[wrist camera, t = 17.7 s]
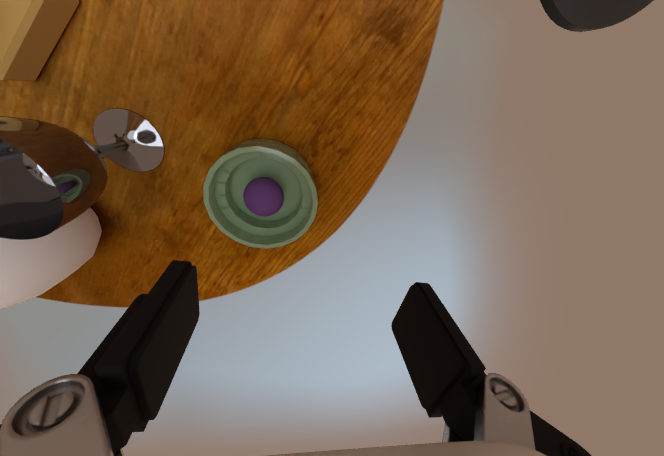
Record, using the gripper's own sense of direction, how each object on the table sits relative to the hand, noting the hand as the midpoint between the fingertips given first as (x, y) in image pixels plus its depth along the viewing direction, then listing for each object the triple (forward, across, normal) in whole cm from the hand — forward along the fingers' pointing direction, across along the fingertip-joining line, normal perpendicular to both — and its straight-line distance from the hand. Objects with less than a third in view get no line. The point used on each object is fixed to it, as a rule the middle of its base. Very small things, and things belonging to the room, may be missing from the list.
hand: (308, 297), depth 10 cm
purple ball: (+24, +4, +5) cm, 25 cm away
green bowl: (+24, +4, +5) cm, 25 cm away
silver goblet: (+24, +20, +2) cm, 32 cm away
